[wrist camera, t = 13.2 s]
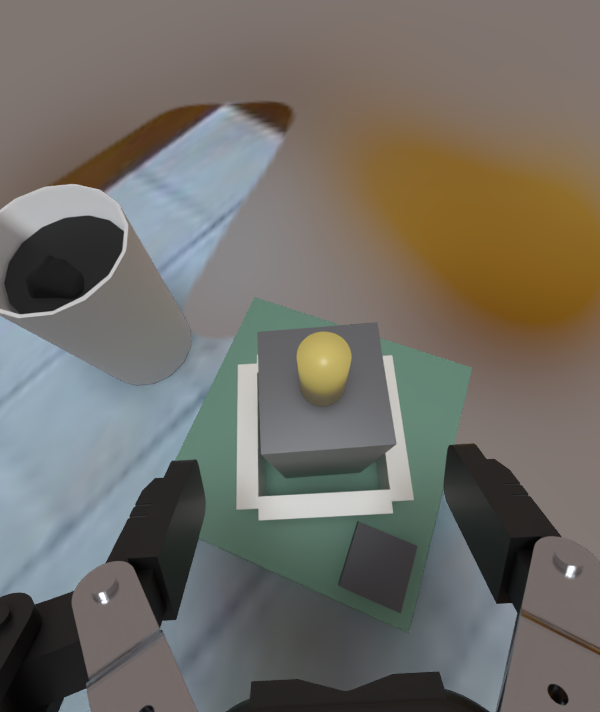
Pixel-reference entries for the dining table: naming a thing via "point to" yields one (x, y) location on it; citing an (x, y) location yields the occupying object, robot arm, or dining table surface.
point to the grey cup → (89, 284)
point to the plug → (323, 400)
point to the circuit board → (333, 483)
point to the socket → (253, 493)
